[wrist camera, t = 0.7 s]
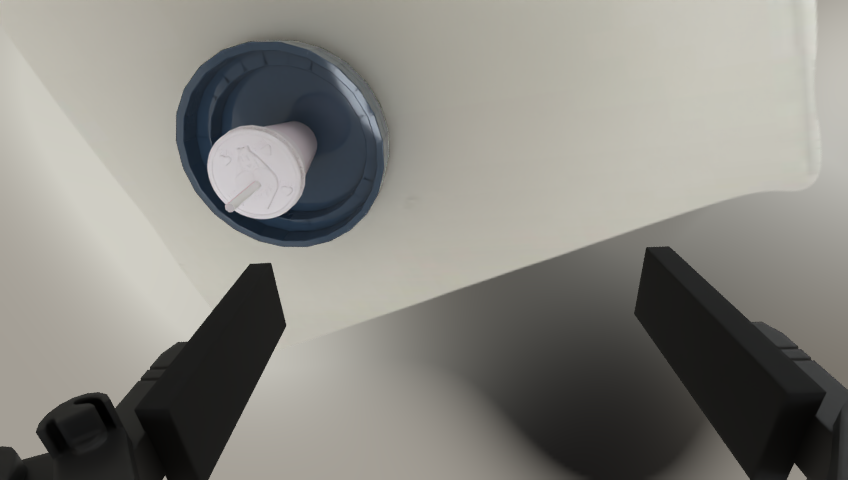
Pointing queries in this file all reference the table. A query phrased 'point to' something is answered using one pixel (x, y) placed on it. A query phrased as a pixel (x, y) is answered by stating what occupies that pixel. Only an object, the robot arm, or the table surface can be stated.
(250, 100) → the bowl
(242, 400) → the robot arm
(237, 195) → the smoothie
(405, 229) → the table surface
